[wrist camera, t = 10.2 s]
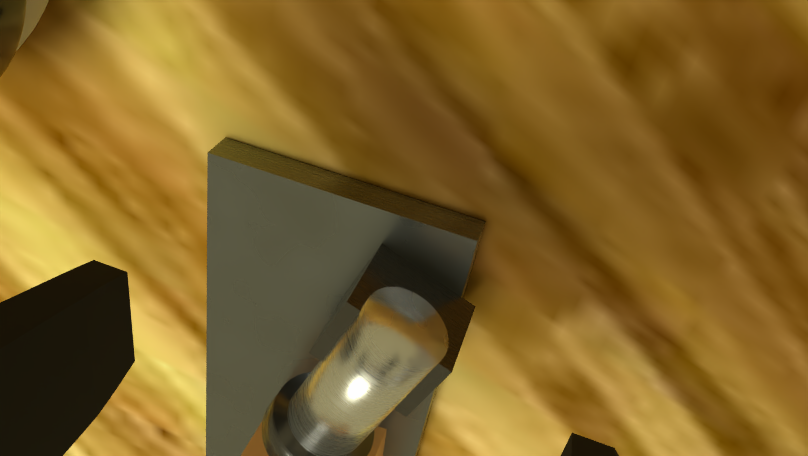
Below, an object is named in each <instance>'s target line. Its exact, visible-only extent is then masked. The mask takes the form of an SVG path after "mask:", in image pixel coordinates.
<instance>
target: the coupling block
mask: <svg viewBox="0 0 808 456" xmlns="http://www.w3.org/2000/svg"><path fill="white" fill-rule="evenodd" d="M262 421H263V420H262ZM386 431H387V429H385V428H382V427H378V426H377V427H376V428H375V429H374V440H373V445H372V448H371V450H370V452H369V454H368V455H367V456H383V451H384V445H385V438H386ZM241 456H268V454H267V452H266V449H265V446H264V443H263V439H262V422H261V424H260V425H259V427H258V428H257V430H256V432H255V433H254V435H253V437H252V438H251V440H250V441H249V443H248V445H247V446H246V448H245V449H244V451H243V453H242V454H241Z"/></svg>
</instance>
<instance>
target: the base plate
mask: <svg viewBox="0 0 808 456" xmlns="http://www.w3.org/2000/svg"><path fill="white" fill-rule="evenodd" d="M484 225H485V221H482V220H479V219H476V218H473V217H470V216H467V215H464V214H461V213H457V212H454V211H451V210H448V209H445V208H442V207H439V206H436V205H433V204H430V203H426V202H423V201H420V200H417V199H414V198H411V197H408V196H405V195H402V194H399V193H396V192H392V191H389V190H386V189H383V188H380V187H377V186H374V185H371V184H368V183H365V182H362V181H358V180H355V179H352V178H349V177H346V176H343V175H340V174H337V173H334V172H331V171H327V170H324V169H321V168H318V167H315V166H312V165H309V164H306V163H303V162H300V161H297V160H293V159H290V158H287V157H284V156H281V155H278V154H275V153H272V152H269V151H266V150H262V149H259V148H256V147H253V146H250V145H247V144H244V143H241V142H238V141H235V140H232V139H228V138H224V139H223V140H222V141H221V142H220V143H218V144H217V145H216V146H215V147H214V148H213V149H211V150H210V151H209V152H208V196H207V385H206V456H241V454H242V453H243V451H244V449H245V448H246V446H247V445H248V443H249V441H250V440H251V438H252V437H253V435H254V433H255V432H256V430H257V428H258V427H259V425H260V424H261V422H262V420H263V417H264V414H265V411H266V409H267V407H268V406H269V404H270V403H271V402H272V400H273V399H274V398H275V396H276V395H277V394H278V392H279V391H280V390H281V388H282V387H283V386H284V385H285V384H286V383H287V382H288V381H289V380H290V379H292V378H293V377H295V376H297V375H300V374H303V373H308V372H312V370H313V369H314V368H315V366H316V365H317V364H318V363H319V361H320V360H319V359H317V358H316V357H314V356H313V355H311V354H310V353H309V351H310V350H311V348H312V347H313V345H314V343H315V342H316V340H317V338H318V337H319V335H320V333H321V332H322V330H323V329H324V327H325V325H326V324H327V322H328V320H329V319H330V317H331V316H332V314H333V312H334V311H335V309H336V307H337V306H338V304H339V302H340V301H341V299H342V298H343V296H344V294H345V293H346V291H347V290H348V289H349V287H350V286H351V285H352V283H353V282H354V280H355V279H356V278H357V276H358V275H359V274H360V272H361V271H362V270H363V268H364V267H365V266H366V264H367V263H368V261H369V260H370V259H371V257H372V256H373V255H374V253H375V252H376V251H377V249H378V248H379V246H380V245H381V244H384V245H385V246H387V247H388V248H390V249H391V250H393V251H394V252H396V253H397V254H399V255H400V256H402V257H403V258H405V259H406V260H407V261H409V262H410V263H412V264H413V265H415V266H416V267H418V268H419V269H421V270H422V271H424V272H425V273H427V274H428V275H430V276H431V277H433V278H434V279H436V280H437V281H438V282H440V283H441V284H443V285H444V286H446V287H447V288H449V289H450V290H452V291H453V292H455V293H456V294H458V295H459V296H461V297H462V298H463V297H464V293H465V290H466V286H467V283H468V280H469V276H470V273H471V269H472V266H473V263H474V259H475V256H476V252H477V249H478V246H479V242H480V239H481V235H482V232H483V229H484ZM436 389H437V387H436V388H435V389H434V390H433V391H432V392H431V393H430V394H429V395H428V396H427V397H426V398H425V399H424V400H423V401H422V402H421V403H420V404H419V405H418V406H417V407H416V408H415V409H414V410H413V411H412V412H411V413H410V414H409V415H408V416H407V417H405V416H403V415H402V414H400V413H399V412H397V411H396V410H393V411H392V412H391V413H390V414H389V415H388V416H387V417H386V418H385V419H384V420H383V421H382V422H381V423H380V424H379V425H378V427H382V428H385V429H387V431H386V438H385V445H384V451H383V456H417V453H418V450H419V446H420V443H421V440H422V436H423V433H424V429H425V426H426V423H427V419H428V416H429V412H430V409H431V406H432V402H433V399H434V395H435V392H436Z"/></svg>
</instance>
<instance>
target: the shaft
mask: <svg viewBox="0 0 808 456" xmlns="http://www.w3.org/2000/svg"><path fill="white" fill-rule="evenodd" d="M474 309H475V306H474V305H472V304H471V303H469V302H468V301H466V300H465V299H464V298H462V297H461V296H459V295H458V294H456V293H455V292H453V291H452V290H450V289H449V288H447V287H446V286H444V285H443V284H441V283H440V282H438V281H437V280H436V279H434V278H433V277H431V276H430V275H428V274H427V273H425V272H424V271H422V270H421V269H419V268H418V267H416V266H415V265H413V264H412V263H410V262H409V261H407V260H406V259H405V258H403V257H402V256H400V255H399V254H397V253H396V252H394V251H393V250H391V249H390V248H388V247H387V246H385V245H384V244H381V245H380V246H379V248H378V249H377V251H376V252H375V253H374V255H373V256H372V257H371V259H370V260H369V261H368V263H367V264H366V266H365V267H364V268H363V270H362V271H361V272H360V274H359V275H358V276H357V278H356V279H355V280H354V282H353V283H352V285H351V286H350V287H349V289H348V290H347V291H346V293H345V294H344V296H343V298H342V299H341V301H340V302H339V304H338V306H337V307H336V309H335V311H334V312H333V314H332V316H331V317H330V319H329V320H328V322H327V324H326V325H325V327H324V329H323V330H322V332H321V333H320V335H319V337H318V338H317V340H316V342H315V343H314V345H313V347H312V348H311V350H310V351H309V353H310V354H311V355H313V356H314V357H316V358H317V359H319V360H320V361H319V363H318V364H317V365H316V366H315V368H314V369H313V370H312V372H308V373H303V374H300V375H297V376H295V377H293V378H292V379H290V380H289V381H288V382H287V383H286V384H285V385H284V386H283V387H282V388H281V390H280V391H279V392H278V394H277V395H276V396H275V398H274V399H273V400H272V402H271V403H270V404H269V406H268V407H267V409H266V411H265V414H264V417H263V421H262V439H263V443H264V446H265V449H266V452H267V454H268V456H367V455H368V454H369V452H370V450H371V448H372V445H373V440H374V429H375V428H376V427H377V426H378V425H379V424H380V423H381V422H382V421H383V420H384V419H385V418H386V417H387V416H388V415H389V414H390V413H391V412H392V411H393V410H396V411H397V412H399V413H400V414H402V415H403V416H405V417H407V416H408V415H409V414H410V413H411V412H412V411H413V410H414V409H415V408H416V407H417V406H418V405H419V404H420V403H421V402H422V401H423V400H424V399H425V398H426V397H427V396H428V395H429V394H430V393H431V392H432V391H433V390H434V389H435V388H436V387H437V386H438V385H439V384H440V383H441V382H442V381H443V380H444V379H445V378H446V377H447V376H448V375H449V374H450V373H451V372H452V370H453V367H454V364H455V362H456V359H457V356H458V353H459V351H460V348H461V345H462V342H463V339H464V337H465V334H466V331H467V328H468V326H469V323H470V320H471V317H472V315H473V312H474Z"/></svg>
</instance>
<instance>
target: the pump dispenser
mask: <svg viewBox="0 0 808 456" xmlns="http://www.w3.org/2000/svg"><path fill="white" fill-rule="evenodd" d="M48 1H49V0H0V77H1V76H2V74H3V73H4V72H5V70H6V69H7V67H8V66H9V64H10V62H11V61H12V59H13V57H14V55H15V52H16V51H17V50H18V49H19V47H20V46H21V45H22V44H23V43H24V42H25V40H26V39H27V38H28V36H29V35H30V34H31V32H32V31H33V30H34V28H35V27H36V25H37V23H38V21H39V20H40V18H41V16H42V14H43V12H44V10H45V8H46V6H47V3H48Z"/></svg>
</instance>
